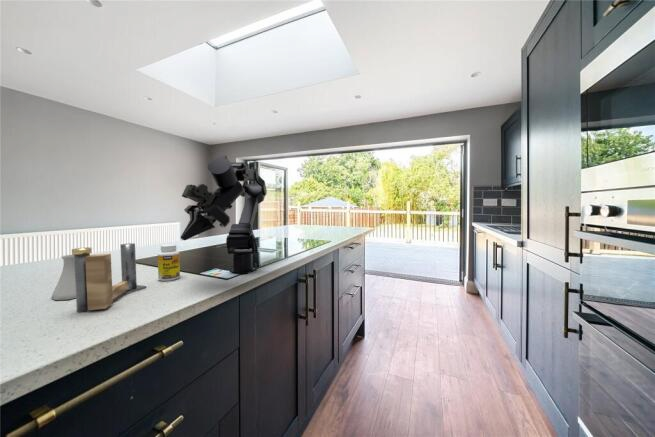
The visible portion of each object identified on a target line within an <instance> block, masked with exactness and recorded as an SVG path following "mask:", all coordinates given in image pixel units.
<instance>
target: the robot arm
mask: <svg viewBox="0 0 655 437" xmlns="http://www.w3.org/2000/svg"><path fill="white" fill-rule="evenodd" d="M207 170H208V172H209V174H210V175H211V178H212V180H213V181H214V183H215V184H216V186H217V188H216V189H215V190H214V191H208V185H207V184H203V183H199V184H198V185H195V184H186V186H185V188H184V189H183V192H182V193H181V197H183V198H185V199H189V200H190V201H193V202H196V204H195V205H192V204H191V205H189V204H188V205H187V206H186V208H184V210H183V211H184V212H185V213H187V215H189V221H188V223H187V225H186V227H185V228H184V230H183V232H182V234H181V235H180V239H181V240H183V241H187V240H189V239H191V238H193V237H196V236H198V235H201V234H202V233H206V232H207V231H210V230H212V229H214V228H216V226H215V223H219V226H220V227H221V228H226V227H227V226H228V225H229V224H230V223H231V220H230V219H231V217H230V215H228V214H227V213H226V211H227V210H231V209H232V207H233V203H234V202H235V201H236V200H237V199H238V198H239V197H240V196H241V198H245V201H244V204H243V208H242V211H241V214H240V217H239V220H238V223H232V224H231V226H230V229H229V231H228V235H227V236H226V240H225V241H226V242H225V243H226V249H227V254H228V255H232V269H231V270H229V273H230V272H239V273H238V274H243V273H247V274H249V273H251V272H250V271H252V270H254V269H256V270H257V269H258V268H257V267H254V259H253V255H254V254H257V253H259V246H258V245H259V244H258V242H257V241H258V240H257V239H256V236H255V234H254V229H253V226H254V222H255V217H256V214H257V210H258V206H259V204H261V203H262V202H264V201H265V199H266V196H267V191H268V189H267V186H266V181H265V180H264V179H263V178H262V177H261V176H260V175H259V171H258V170H256V169H252V168H249V167H248V165H247V163H245V162H243V161H242V162H240V161H239V162H237V161H236V162H234V161H233V162H232V161H230V159H228V156H227V155H218V156H217V158H215V159H213V160H211V161H210V162H209V163H208V164H207ZM248 181H249V182H250V181H255V182H256V183H247V182H248ZM254 271H255V270H254ZM248 272H249V273H248ZM252 272H253V271H252Z"/></svg>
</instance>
